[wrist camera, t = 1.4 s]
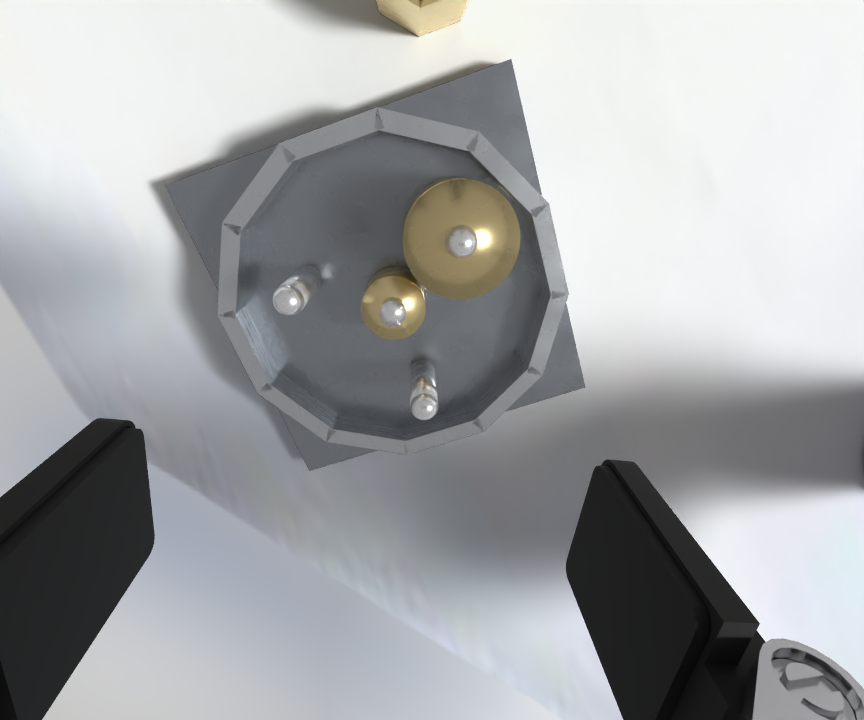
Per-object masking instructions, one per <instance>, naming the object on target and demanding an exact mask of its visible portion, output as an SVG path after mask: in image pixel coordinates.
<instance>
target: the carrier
mask: <svg viewBox="0 0 864 720" xmlns="http://www.w3.org/2000/svg"><path fill="white" fill-rule="evenodd" d="M165 186H166V188H167V190H168V192H169V194H170V196H171V198H172V200H173V202H174V204H175V206H176V208H177V210H178V212H179V214H180V216H181V218H182V220H183V222H184V224H185V226H186V228H187V230H188V232H189V234H190V236H191V238H192V240H193V242H194V244H195V246H196V248H197V250H198V252H199V254H200V256H201V258H202V260H203V261H204V263H205V265H206V267H207V269H208V271H209V273H210V275H211V277H212V279H213V281H214V283H215V285H216V287H217V289H218V311H217V316H218V318H219V320H220V322H221V324H222V326H223V327H224V329H225V331H226V333H227V335H228V337H229V339H230V341H231V343H232V345H233V347H234V349H235V351H236V353H237V355H238V356H239V358H240V360H241V362H242V364H243V366H244V368H245V370H246V372H247V374H248V376H249V378H250V380H251V382H252V384H253V385H254V387H255V389H256V391H257V393H258V394H259V395H260V396H262V397H263V398H265V399H266V400H268V401H269V402H270V403H272V404H273V405H275V406H276V407H277V408H278V410H279V412H280V414H281V416H282V418H283V420H284V422H285V423H286V425H287V427H288V429H289V431H290V433H291V435H292V437H293V439H294V441H295V443H296V445H297V447H298V449H299V451H300V453H301V455H302V457H303V459H304V461H305V463H306V465H307V467H308V469H309V471H311V470H314V469H317V468H321V467H324V466H327V465H331V464H334V463H337V462H340V461H344V460H347V459H350V458H354V457H357V456H360V455H364V454H367V453H370V452H373V451H377V450H381V451H387V452H393V453H400V454H406V455H407V454H410V453H414V452H417V451H420V450H424V449H427V448H430V447H434V446H437V445H440V444H444V443H447V442H450V441H454V440H457V439H460V438H464V437H467V436H470V435H474V434H477V433H480V432H484V431H485V430H486V429H487V428H488V427H489V426H490V425H491V424H492V423H493V422H494V421H495V420H496V419H497V418H498V417H499V416H500V415H501V414H502V413H504V412H505V411H509V410H512V409H515V408H519V407H522V406H525V405H528V404H532V403H535V402H538V401H542V400H545V399H548V398H552V397H555V396H558V395H561V394H565V393H568V392H571V391H575V390H578V389H581V388H585V384H584V380H583V375H582V371H581V366H580V362H579V358H578V353H577V349H576V344H575V340H574V335H573V331H572V327H571V322H570V318H569V313H568V309H567V304H566V301H567V298H568V295H569V293H568V288H567V284H566V279H565V275H564V270H563V266H562V261H561V257H560V252H559V248H558V243H557V239H556V234H555V230H554V225H553V221H552V216H551V212H550V207H549V203H548V202H547V201H546V200H545V199H544V198H543V197H542V193H541V189H540V185H539V180H538V176H537V171H536V167H535V162H534V158H533V153H532V149H531V145H530V140H529V136H528V131H527V127H526V122H525V118H524V114H523V109H522V105H521V100H520V96H519V91H518V87H517V82H516V78H515V74H514V69H513V65H512V60H511V59H510V60H507V61H504V62H502V63H499V64H496V65H494V66H491V67H488V68H485V69H483V70H480V71H477V72H474V73H472V74H469V75H466V76H463V77H461V78H458V79H455V80H452V81H450V82H447V83H444V84H441V85H439V86H436V87H433V88H431V89H428V90H425V91H422V92H420V93H417V94H414V95H411V96H409V97H406V98H403V99H400V100H398V101H395V102H392V103H389V104H387V105H384V106H381V107H376V108H374V109H371V110H368V111H365V112H363V113H360V114H357V115H354V116H352V117H349V118H346V119H343V120H341V121H338V122H335V123H332V124H330V125H327V126H324V127H322V128H319V129H316V130H313V131H311V132H308V133H305V134H302V135H300V136H297V137H294V138H291V139H289V140H286V141H283V142H280V143H279V144H277V145H274V146H272V147H269V148H266V149H264V150H261V151H258V152H255V153H253V154H250V155H247V156H244V157H242V158H239V159H236V160H233V161H231V162H228V163H225V164H222V165H220V166H217V167H214V168H211V169H209V170H206V171H203V172H201V173H198V174H195V175H192V176H190V177H187V178H184V179H181V180H179V181H176V182H173V183H170V184H168V185H165Z"/></svg>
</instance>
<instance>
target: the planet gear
mask: <svg viewBox="0 0 864 720" xmlns="http://www.w3.org/2000/svg"><path fill="white" fill-rule="evenodd" d="M468 2H469V0H376V3H377V6H378V9H379V12H380V13H381V14H382V15H384V16H386V17H387V18H389V19H391V20H392V21H394V22H396V23H397V24H399V25H401V26H402V27H404V28H406V29H407V30H409V31H411V32H412V33H414V34H415V35H417V36H422V35H424V34H427V33H430V32H432V31H435V30H438V29H440V28H443V27H446V26H448V25H451V24H454V23H456V22H459V21H460V20H461V18H462V16H463V13H464V11H465V9H466V7H467V5H468Z"/></svg>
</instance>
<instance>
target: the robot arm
mask: <svg viewBox="0 0 864 720" xmlns="http://www.w3.org/2000/svg"><path fill="white" fill-rule="evenodd" d="M153 544H154V526H153V516H152V507H151V498H150V489H149V479H148V470H147V460H146V451H145V442H144V435H143V432H142V430H141V429H136V428H135V425H134V424H133V422H131V421H128V420H116V419H104V418H99V419H96V420H94V421H93V422H91V423H90V424H89V425H88V426H87V427H85V428H84V429H83V430H82V431H81V432H79V433H78V434H77V435H76V436H74V437H73V438H72V439H71V440H70V441H68V442H67V443H66V444H65V445H64V446H62V447H61V448H60V449H59V450H57V451H56V452H55V453H54V454H53V455H51V456H50V457H49V458H48V459H46V460H45V461H44V462H43V463H42V464H40V465H39V466H38V467H37V468H36V469H34V470H33V471H32V472H31V473H29V474H28V475H27V476H26V477H25V478H24V479H22V480H21V481H20V482H19V483H17V484H16V485H15V486H14V487H12V488H11V489H10V490H9V491H8V492H6V493H5V494H4V495H3V496H1V497H0V720H42V719H43V717H44V716H45V714H46V713H47V711H48V710H49V708H50V707H51V705H52V703H53V702H54V700H55V699H56V697H57V696H58V694H59V693H60V691H61V690H62V688H63V687H64V685H65V683H66V682H67V680H68V679H69V677H70V676H71V674H72V673H73V671H74V670H75V668H76V667H77V665H78V664H79V662H80V661H81V659H82V658H83V656H84V654H85V653H86V651H87V650H88V648H89V647H90V645H91V644H92V642H93V641H94V639H95V638H96V636H97V634H98V633H99V631H100V630H101V628H102V627H103V625H104V624H105V622H106V621H107V619H108V618H109V616H110V615H111V613H112V612H113V610H114V609H115V607H116V606H117V604H118V602H119V601H120V599H121V598H122V596H123V595H124V593H125V592H126V590H127V588H128V587H129V586H130V584H131V582H132V581H133V579H134V578H135V576H136V575H137V573H138V572H139V570H140V569H141V567H142V566H143V564H144V563H145V561H146V560H147V558H148V557H149V555H150V553H151V550H152V548H153ZM566 573H567V578H568V581H569V583H570V586H571V588H572V591H573V593H574V596H575V598H576V601H577V603H578V606H579V608H580V611H581V614H582V616H583V619H584V621H585V624H586V626H587V629H588V631H589V634H590V636H591V639H592V641H593V644H594V646H595V649H596V651H597V654H598V657H599V659H600V662H601V664H602V667H603V669H604V672H605V674H606V677H607V679H608V682H609V684H610V687H611V689H612V692H613V695H614V697H615V700H616V702H617V705H618V707H619V710H620V712H621V715H622V717H623V720H864V689H863V687H862V686H861V685H860V684H859V683H858V682H857V681H856V680H855V679H854V678H853V677H852V676H851V675H850V674H849V673H848V672H847V671H846V670H844V669H843V668H842V667H841V666H839V665H838V664H837V663H836V662H834V661H833V660H832V659H830V658H828V657H827V656H825V655H823V654H822V653H820V652H819V651H817V650H815V649H813V648H811V647H808V646H806V645H804V644H802V643H799V642H796V641H791V640H787V639H771V640H769V641H767V642H765V641H764V639H763V638H762V637H761V636H760V634H759V633H758V632H757V628H758V626H759V624H760V623H759V622H758V621H757V619H756V618H755V617H754V616H753V614H752V613H751V612H750V610H749V609H748V608H747V606H746V605H745V604H744V603H743V601H742V600H741V599H740V597H739V596H738V595H737V594H736V592H735V591H734V590H733V588H732V587H731V586H730V585H729V583H728V582H727V581H726V579H725V578H724V577H723V576H722V574H721V573H720V572H719V570H718V569H717V568H716V566H715V565H714V564H713V563H712V561H711V560H710V559H709V557H708V556H707V555H706V554H705V552H704V551H703V550H702V548H701V547H700V546H699V545H698V543H697V542H696V541H695V539H694V538H693V537H692V536H691V534H690V533H689V532H688V530H687V529H686V528H685V526H684V525H683V524H682V523H681V521H680V520H679V519H678V517H677V516H676V515H675V514H674V512H673V511H672V510H671V508H670V507H669V506H668V505H667V503H666V502H665V501H664V499H663V498H662V497H661V496H660V494H659V493H658V492H657V490H656V489H655V488H654V486H653V485H652V484H651V483H650V481H649V480H648V479H647V477H646V476H645V475H644V474H643V472H642V471H641V470H640V468H639V467H638V466H637V465H636V464H635V463H634V462H630V461H618V460H605V461H604V462H603V463H602V465H601V466H596V467H595V469H594V471H593V474H592V477H591V481H590V484H589V487H588V491H587V494H586V497H585V501H584V504H583V507H582V511H581V514H580V517H579V521H578V524H577V528H576V531H575V534H574V538H573V541H572V544H571V548H570V551H569V554H568V558H567V562H566Z"/></svg>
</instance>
